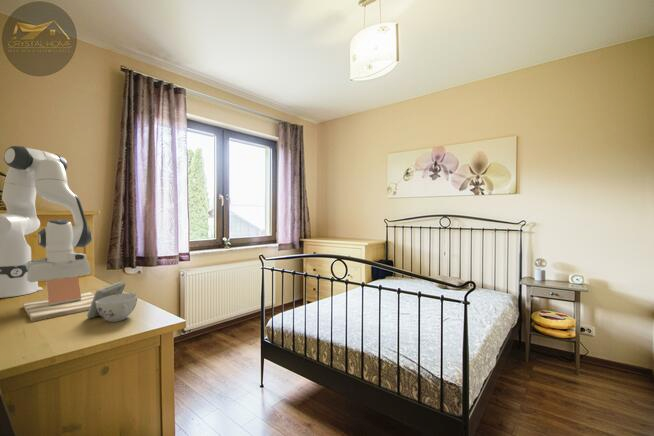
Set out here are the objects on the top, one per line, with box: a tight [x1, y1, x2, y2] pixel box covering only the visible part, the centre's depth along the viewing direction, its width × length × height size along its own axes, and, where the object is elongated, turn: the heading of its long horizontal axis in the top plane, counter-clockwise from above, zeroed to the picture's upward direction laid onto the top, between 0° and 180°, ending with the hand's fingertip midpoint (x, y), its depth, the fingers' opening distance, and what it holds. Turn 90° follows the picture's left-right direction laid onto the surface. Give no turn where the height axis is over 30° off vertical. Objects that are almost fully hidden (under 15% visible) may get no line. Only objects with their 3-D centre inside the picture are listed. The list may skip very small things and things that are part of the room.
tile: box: [45, 276, 82, 306], centre depth 121 cm, size 11×10×1 cm
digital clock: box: [86, 281, 126, 319], centre depth 113 cm, size 16×9×11 cm, turn 175°
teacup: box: [95, 292, 139, 323], centre depth 105 cm, size 15×12×8 cm
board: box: [22, 291, 95, 323], centre depth 120 cm, size 26×22×2 cm
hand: (60, 288), depth 126 cm, fingers closed
